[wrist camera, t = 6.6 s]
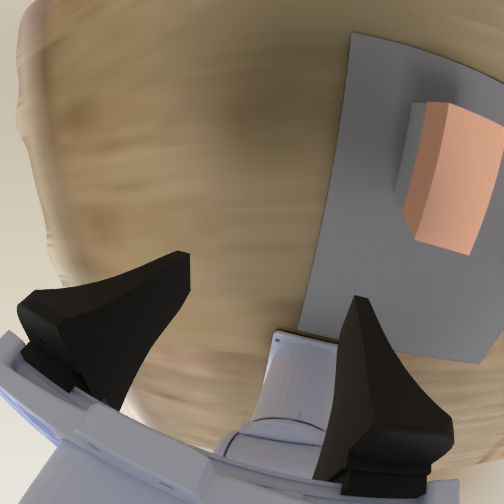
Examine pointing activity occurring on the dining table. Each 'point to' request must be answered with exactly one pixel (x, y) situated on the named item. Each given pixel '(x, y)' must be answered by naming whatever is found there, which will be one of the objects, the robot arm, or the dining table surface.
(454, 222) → the brick terracotta
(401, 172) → the brick slate
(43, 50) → the dining table surface
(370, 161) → the felt mat
